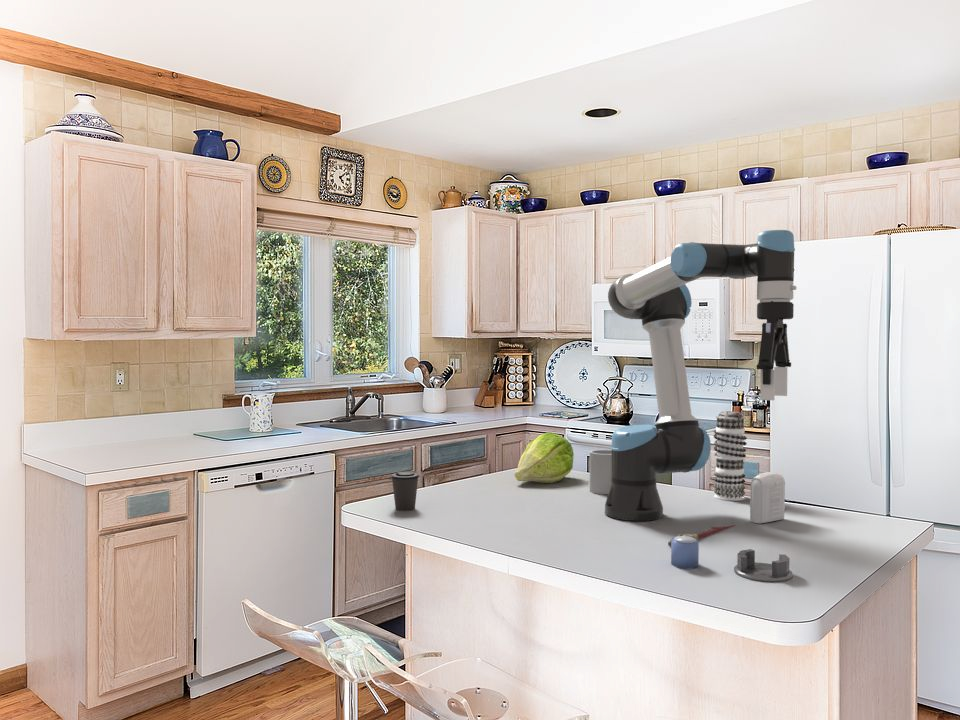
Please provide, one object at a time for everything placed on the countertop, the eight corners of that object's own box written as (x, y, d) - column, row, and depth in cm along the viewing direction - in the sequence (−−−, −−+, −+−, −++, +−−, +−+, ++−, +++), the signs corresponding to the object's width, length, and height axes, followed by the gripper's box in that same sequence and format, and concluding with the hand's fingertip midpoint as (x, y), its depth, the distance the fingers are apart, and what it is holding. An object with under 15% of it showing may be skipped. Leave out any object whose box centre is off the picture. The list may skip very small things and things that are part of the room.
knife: (655, 546, 175) (674, 548, 171) (655, 538, 175) (674, 540, 171) (720, 528, 195) (738, 529, 191) (719, 521, 195) (738, 522, 191)
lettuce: (541, 501, 237) (505, 497, 248) (588, 467, 253) (552, 465, 265) (528, 456, 234) (492, 455, 245) (577, 425, 250) (541, 425, 262)
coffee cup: (385, 510, 208) (384, 473, 208) (399, 504, 216) (398, 468, 216) (411, 512, 205) (411, 475, 205) (425, 506, 213) (424, 470, 213)
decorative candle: (706, 495, 226) (706, 411, 225) (730, 493, 230) (731, 410, 229) (727, 502, 218) (728, 414, 217) (752, 499, 221) (753, 412, 220)
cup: (622, 494, 228) (622, 454, 228) (591, 494, 228) (591, 454, 228) (617, 488, 237) (617, 449, 237) (587, 488, 237) (587, 449, 237)
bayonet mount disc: (727, 575, 152) (727, 558, 152) (742, 561, 161) (742, 545, 161) (785, 585, 146) (785, 567, 146) (798, 570, 155) (798, 553, 155)
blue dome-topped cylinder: (667, 565, 159) (667, 539, 159) (676, 559, 163) (676, 534, 163) (693, 570, 156) (693, 544, 155) (702, 563, 160) (702, 537, 160)
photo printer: (772, 516, 201) (773, 469, 201) (787, 519, 197) (787, 471, 197) (747, 521, 195) (747, 473, 195) (761, 525, 192) (762, 476, 191)
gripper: (781, 298, 156) (780, 402, 157) (803, 302, 177) (802, 394, 178) (743, 299, 160) (742, 401, 161) (769, 303, 181) (768, 393, 182)
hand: (774, 397), depth 169 cm, fingers open, 13 cm apart
